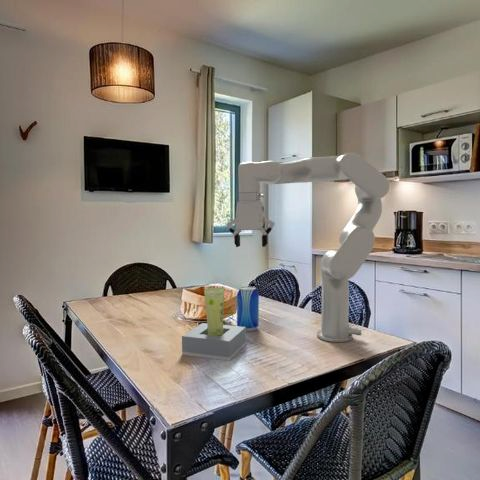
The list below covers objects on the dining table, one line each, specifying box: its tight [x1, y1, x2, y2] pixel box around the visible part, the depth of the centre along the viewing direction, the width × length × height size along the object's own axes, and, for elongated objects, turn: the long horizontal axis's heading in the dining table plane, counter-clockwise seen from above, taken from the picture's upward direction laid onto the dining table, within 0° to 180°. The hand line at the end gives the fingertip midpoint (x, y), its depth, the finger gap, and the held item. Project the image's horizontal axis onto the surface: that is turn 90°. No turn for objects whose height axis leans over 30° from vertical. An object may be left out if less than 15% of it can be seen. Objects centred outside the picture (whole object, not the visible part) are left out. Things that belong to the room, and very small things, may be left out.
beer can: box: [236, 286, 260, 332], centre depth 152 cm, size 8×8×16 cm
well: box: [181, 322, 247, 362], centre depth 129 cm, size 16×16×6 cm
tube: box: [203, 286, 225, 336], centre depth 129 cm, size 6×5×20 cm
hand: (251, 246), depth 139 cm, fingers open, 9 cm apart
